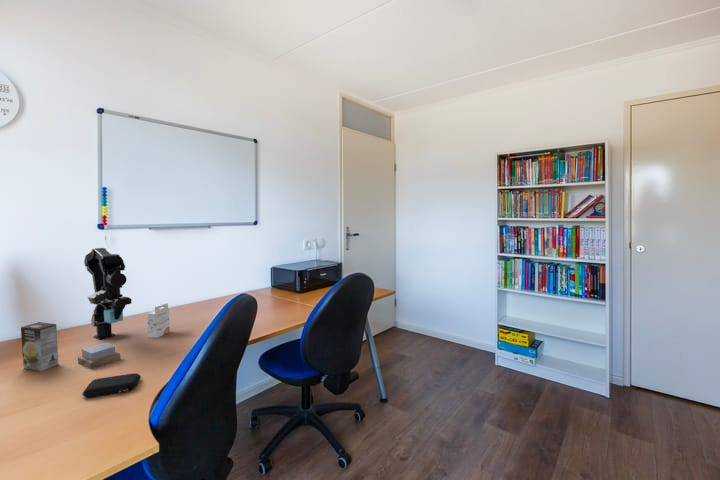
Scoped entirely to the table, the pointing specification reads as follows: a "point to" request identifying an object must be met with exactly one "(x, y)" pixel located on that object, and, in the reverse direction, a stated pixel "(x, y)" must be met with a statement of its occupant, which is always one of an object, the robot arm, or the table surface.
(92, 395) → the carrying case or bag
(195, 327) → the table surface
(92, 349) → the grey slab
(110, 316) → the teal cube
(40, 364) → the coffee box
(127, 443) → the table surface
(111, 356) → the tan flat square block
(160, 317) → the ink cartridge box
